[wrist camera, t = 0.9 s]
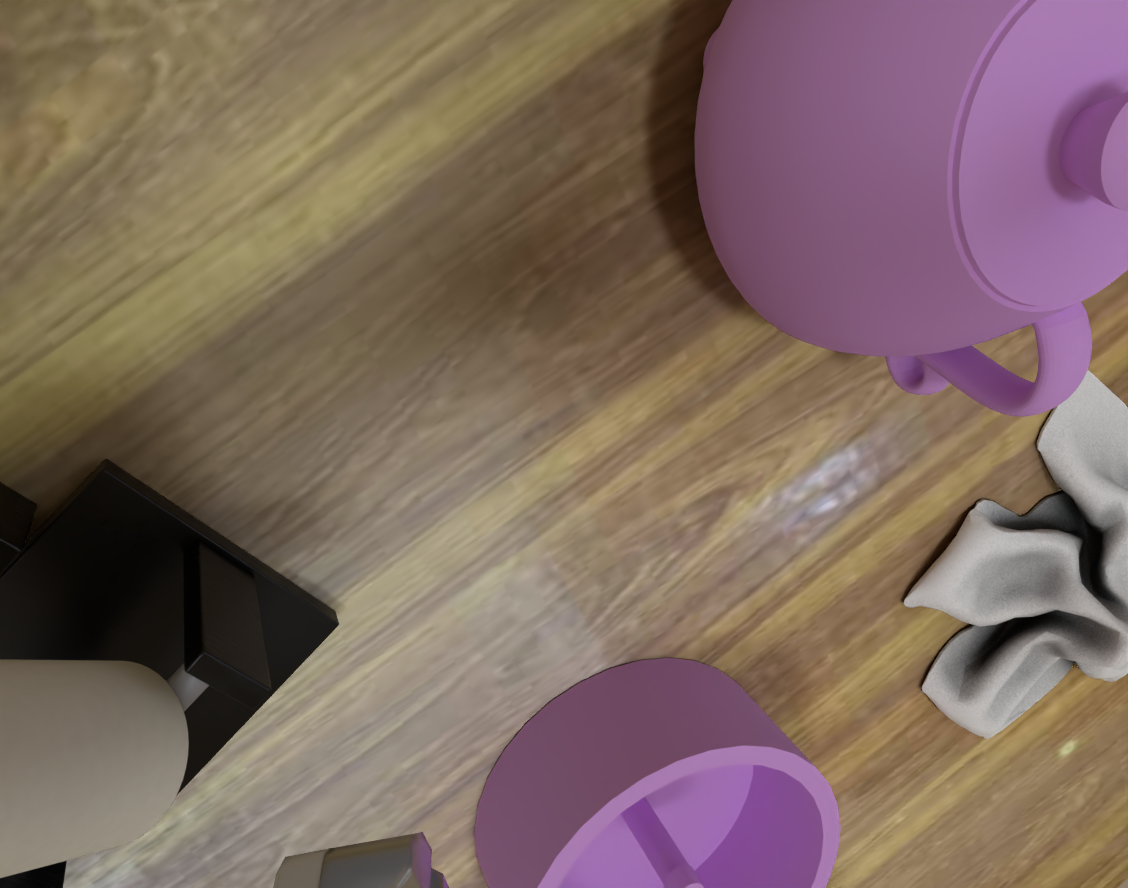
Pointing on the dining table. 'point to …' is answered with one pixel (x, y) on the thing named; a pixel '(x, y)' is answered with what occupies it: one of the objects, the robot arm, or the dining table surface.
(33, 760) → the beige green-banded cylinder
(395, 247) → the dining table surface
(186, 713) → the stand
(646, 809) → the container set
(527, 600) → the dining table surface
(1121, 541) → the cloth
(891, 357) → the teapot
